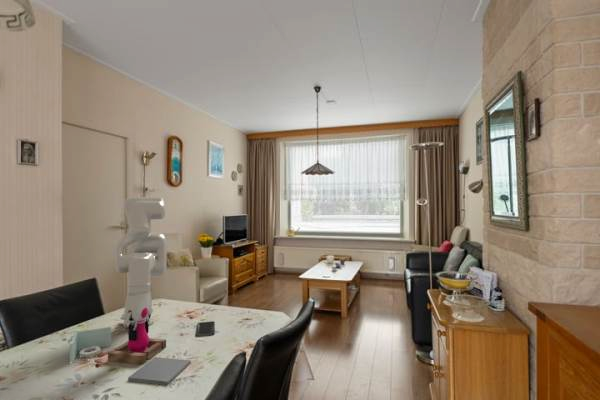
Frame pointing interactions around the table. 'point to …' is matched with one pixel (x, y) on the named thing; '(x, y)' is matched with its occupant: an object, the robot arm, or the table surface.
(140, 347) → the pepper mill
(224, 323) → the table surface
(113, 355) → the collar
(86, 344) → the right angle wall
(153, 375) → the slate tile
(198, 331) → the phone
